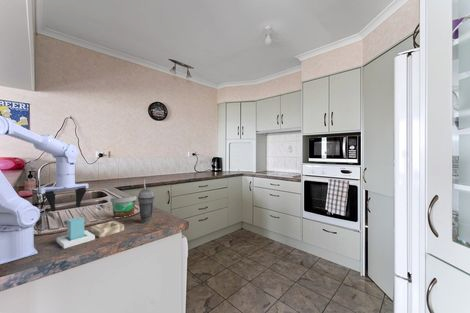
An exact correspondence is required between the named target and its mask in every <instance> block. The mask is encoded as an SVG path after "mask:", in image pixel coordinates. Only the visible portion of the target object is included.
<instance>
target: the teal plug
mask: <svg viewBox="0 0 470 313" xmlns="http://www.w3.org/2000/svg"><path fill="white" fill-rule="evenodd" d="M66 227H67V229H66V230H67V234H66V235H67V240H68V241H71V240H74V239H78V238H82V237H84V230H85V218H83V217H81V216H78V217H73V218H68V219H67V223H66Z"/></svg>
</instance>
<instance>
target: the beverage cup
mask: <svg viewBox="0 0 470 313" xmlns="http://www.w3.org/2000/svg"><path fill="white" fill-rule="evenodd" d="M154 199H155V195H154V191H152V189H150V188H147V187H146V180H145V179H143V189H141V190H140V191H139V193H138V195H137V201H138V206H139V217H140V218H139V219H140V223H141V224H148V223H151V222H152V221H153V220H152V218H153V207H154Z"/></svg>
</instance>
